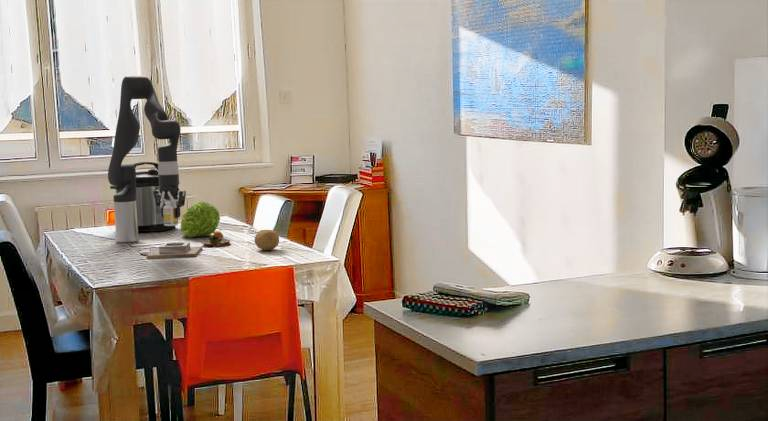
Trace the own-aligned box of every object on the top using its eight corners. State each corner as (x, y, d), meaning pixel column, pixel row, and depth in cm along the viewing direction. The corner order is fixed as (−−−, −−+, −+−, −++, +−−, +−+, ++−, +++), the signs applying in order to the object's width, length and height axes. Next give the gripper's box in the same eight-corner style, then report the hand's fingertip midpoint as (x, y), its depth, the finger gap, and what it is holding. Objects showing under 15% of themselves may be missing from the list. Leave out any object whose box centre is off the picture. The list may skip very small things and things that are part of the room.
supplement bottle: (164, 226, 341) (163, 201, 340) (163, 224, 346) (161, 200, 345) (179, 225, 343) (178, 200, 342) (177, 223, 348) (176, 199, 347)
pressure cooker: (182, 224, 438) (179, 159, 435) (179, 232, 410) (175, 162, 407) (118, 227, 433) (114, 161, 430) (110, 235, 406) (106, 165, 402)
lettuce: (174, 243, 401) (209, 243, 408) (187, 232, 379) (224, 232, 386) (173, 210, 404) (208, 211, 411) (186, 197, 382) (223, 198, 389)
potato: (274, 246, 357) (273, 226, 356) (284, 251, 344) (283, 230, 343) (250, 248, 354) (249, 228, 353) (258, 253, 341) (258, 232, 340)
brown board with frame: (155, 251, 354) (155, 241, 354) (202, 249, 355) (201, 240, 355) (146, 258, 337) (146, 248, 336) (195, 256, 338) (194, 247, 337)
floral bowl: (216, 242, 375) (215, 225, 374) (236, 244, 368) (235, 226, 367) (194, 246, 365) (193, 228, 364) (215, 248, 358) (214, 230, 357)
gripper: (189, 172, 342) (192, 216, 344) (160, 172, 349) (162, 215, 350) (177, 174, 336) (179, 219, 337) (147, 173, 342) (149, 218, 344)
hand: (170, 217), depth 344 cm, fingers closed on supplement bottle, 5 cm apart
